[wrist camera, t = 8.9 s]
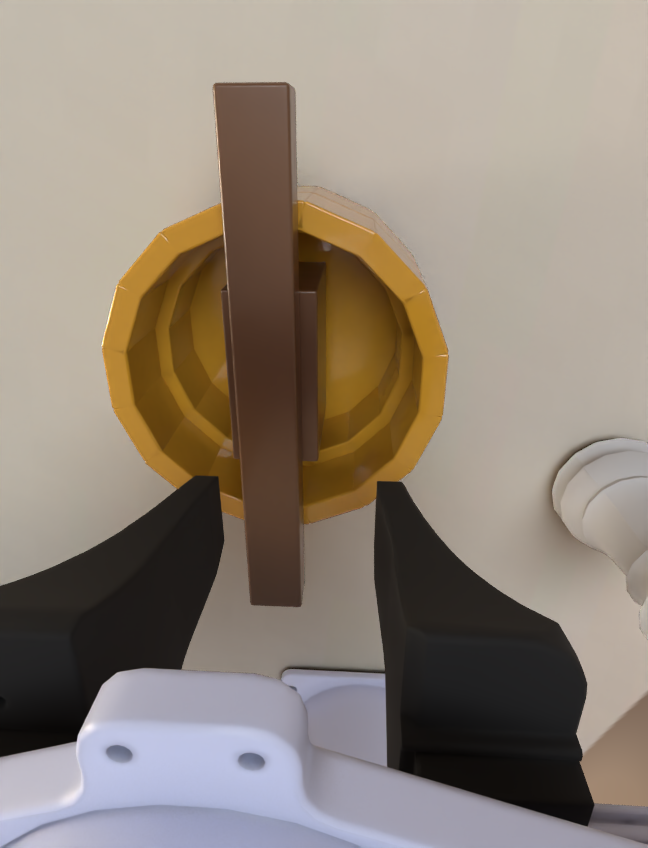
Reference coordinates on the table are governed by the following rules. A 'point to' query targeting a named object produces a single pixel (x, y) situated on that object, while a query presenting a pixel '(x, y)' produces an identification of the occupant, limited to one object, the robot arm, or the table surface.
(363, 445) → the bowl
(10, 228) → the table surface
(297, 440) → the tall wooden post
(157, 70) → the table surface
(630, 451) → the rook chess piece
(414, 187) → the table surface
